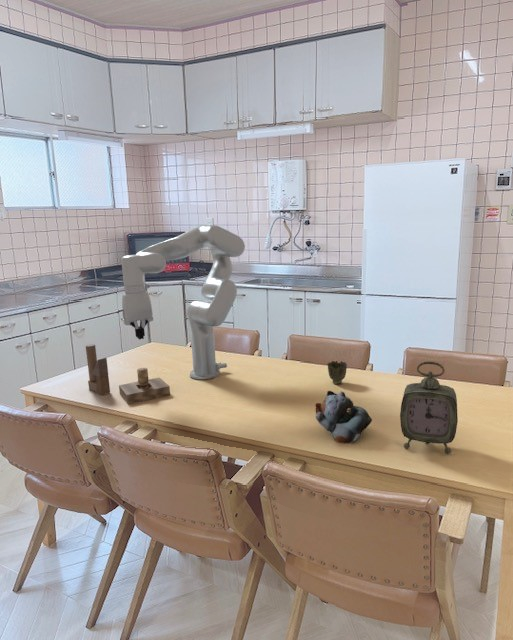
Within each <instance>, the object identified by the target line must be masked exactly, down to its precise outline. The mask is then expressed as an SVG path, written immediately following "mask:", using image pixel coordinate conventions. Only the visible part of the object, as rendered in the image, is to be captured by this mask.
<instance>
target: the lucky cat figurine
mask: <svg viewBox="0 0 513 640" xmlns="http://www.w3.org/2000/svg"><path fill="white" fill-rule="evenodd" d="M326 392H327V393H326V395H325V398H324V399H323V401H322V403H321V402H317V403H315V405H314V406H315V418H316V421H317V422H318V423H319V425H320V426H322V427H323V428H324V429H325V430H326V431H327V432H329V433H330V434H331V435H332V436H333V437H334V439H335V441H336V442H338V443H341V442H344V443H343V444H351V443H353V442H355V441H356V440H358V439H359V438H360V437H361V434H362V433H363V432H364V431H365V430H366V429H367V428H368V427H369V425H370V424H371V423H372V421H373V418H372V417H371V416H370V415H369V413H368V411H367V410H366V409H365V408H363V407H361V406H357V405H356V406H355V405H354V402H353V400H351V398H350V397H348V396H346V394H345V392H344V391H340V392H339V393H335V392H334V391H332V390H328V391H326ZM347 442H348V443H347Z"/></svg>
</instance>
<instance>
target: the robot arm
mask: <svg viewBox="0 0 513 640" xmlns="http://www.w3.org/2000/svg"><path fill="white" fill-rule="evenodd" d="M204 248H209V250H210V253H211V256H212V266H211V269H210V271H209V273H208V274H207V277H206V278H205V281H204V283H203V285H202V288H201V290H200V291H201V296H202V297H203V298H204V299H206V300H200V299H199V300H197V299H196V300H194V301H192V302H190V303H189V304H188V307H187V310H186V316H187V321H188V324H189V329H190V331H189V332H190V339H191V342H190V343H191V352H192V353H191V355H192V357H191V358H192V369H193V370H191V371H190V372H189V377H190V378H192V379H194V380H203V381H204V380H210V379H214V378H217V377H219V376H220V375H221V369H224V368H227V367H228V365H227V363H222V362H217V361H216V360H217V359H216V347H215V346H216V345H215V332H214V327H215V328H216V327H219V326H221V325H222V324H223V323H224V322H225V320H226V318H227V317H228V315H229V312H230V311H231V308H232V307H233V305H234V302H235V300H236V299H237V294H238V293H237V291H238V290H237V285H236V283H235V282H234V281H232V280H230V278H231V275H232V274H233V273H232V272H233V265H232V259H231V258H238V257H240V256H242V255H243V254H244V252H245V248H246V245H245V242H244V240H243V238H242V237H240V236H239V235H237V234H236V233H233V232H231V231H229V230H227V229H226V228H224V227H221V226H218V225H216V224H205V225H204V224H202V225H197V226H195V227H193V228H191V229H189V230H187V231H186V232H183V233H182V234H180V235H177V236H175V237H173V238H169V239H167V240H164V241H162V242H158V243H155V244H153V245H150V246H148V247H146V248H143V249H142V250H140V251H138V252H137V253H136V254H128V255H124V256H122V257H121V260H120V262H121V270H122V279H123V288H124V293H123V294H122V295H121V296H122V298H121V299H122V301H121V303H122V305H121V307H122V308H121V309H122V318H123V325H125V326H131V327H132V328H134V331H135V337H136V338H137V339H138V340H144V339H145V328H146V326H147V324H148V323H151V322H153V321H154V317H153V316H154V315H153V307H152V303H151V298H150V294H149V292H148V291H147V290H148V289H150V288H151V287H150V284H146V277H145V275H146V274H159V273H162V272H163V271H164V270H165V268H166V266H167V261H174V260H176V261H177V260H182V259H185V258H188V257H190V255H193V254H194V253H196V252H198V251H200V250H202V249H204ZM138 322H139V324H138Z"/></svg>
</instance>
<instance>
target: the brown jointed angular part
mask: <svg viewBox="0 0 513 640" xmlns="http://www.w3.org/2000/svg"><path fill="white" fill-rule="evenodd" d="M96 347H97V346H96V344H94V343H89V344H87V345H85V352H86V362H87V369H88V378H89V379H88V380H87V383H88V384H87V385H88V389H89V390H90V391H92V392H94V393H97V394H99V395H101V396H104V395H106V394H107V393H108V394H111V388H110V386H111V385H110V379H109V369H108V359H107V357H103V358H99V359H97V349H96Z"/></svg>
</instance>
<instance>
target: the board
mask: <svg viewBox="0 0 513 640" xmlns="http://www.w3.org/2000/svg"><path fill="white" fill-rule="evenodd" d="M148 380H149V382H148V387H147V388H142V389H140V386H139V383H138V381H133V382H129V383H126V384H123V383H122V384H119V385H118V390H119V395H120V396H121V397H122V399H123V400H124V401H125V403H126V404H127V405H130V404H135V403H138V402H139V401H140V402H145V401H148V400H154V399H157V398H162V397H167V395H168V396H170V395H171V388H170V385H169V384H168V383H166V382H165V381H164V379H162V378H161V377H160V376H159V377H156V378H150V379H149V378H148ZM153 398H154V399H153ZM134 402H135V403H134ZM140 402H139V403H140Z"/></svg>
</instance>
